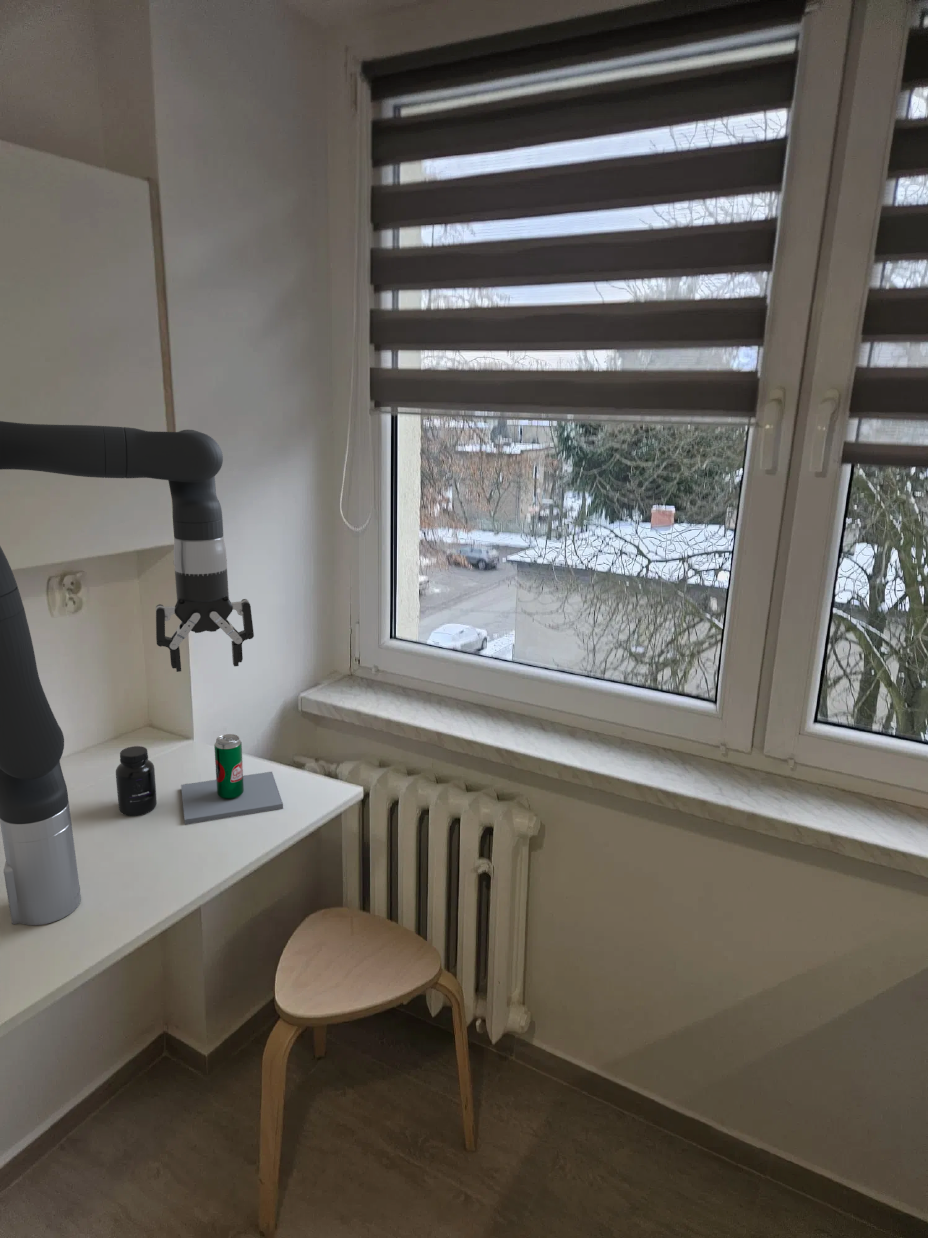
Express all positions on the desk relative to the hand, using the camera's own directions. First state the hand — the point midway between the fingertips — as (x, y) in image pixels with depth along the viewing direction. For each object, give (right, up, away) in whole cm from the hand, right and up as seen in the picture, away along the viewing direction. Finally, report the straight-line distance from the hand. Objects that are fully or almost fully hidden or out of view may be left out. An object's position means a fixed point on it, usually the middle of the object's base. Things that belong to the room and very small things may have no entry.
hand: (207, 667), depth 122 cm
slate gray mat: (-6, -28, +32) cm, 43 cm away
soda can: (-6, -27, +32) cm, 42 cm away
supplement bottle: (-22, -29, +28) cm, 46 cm away
